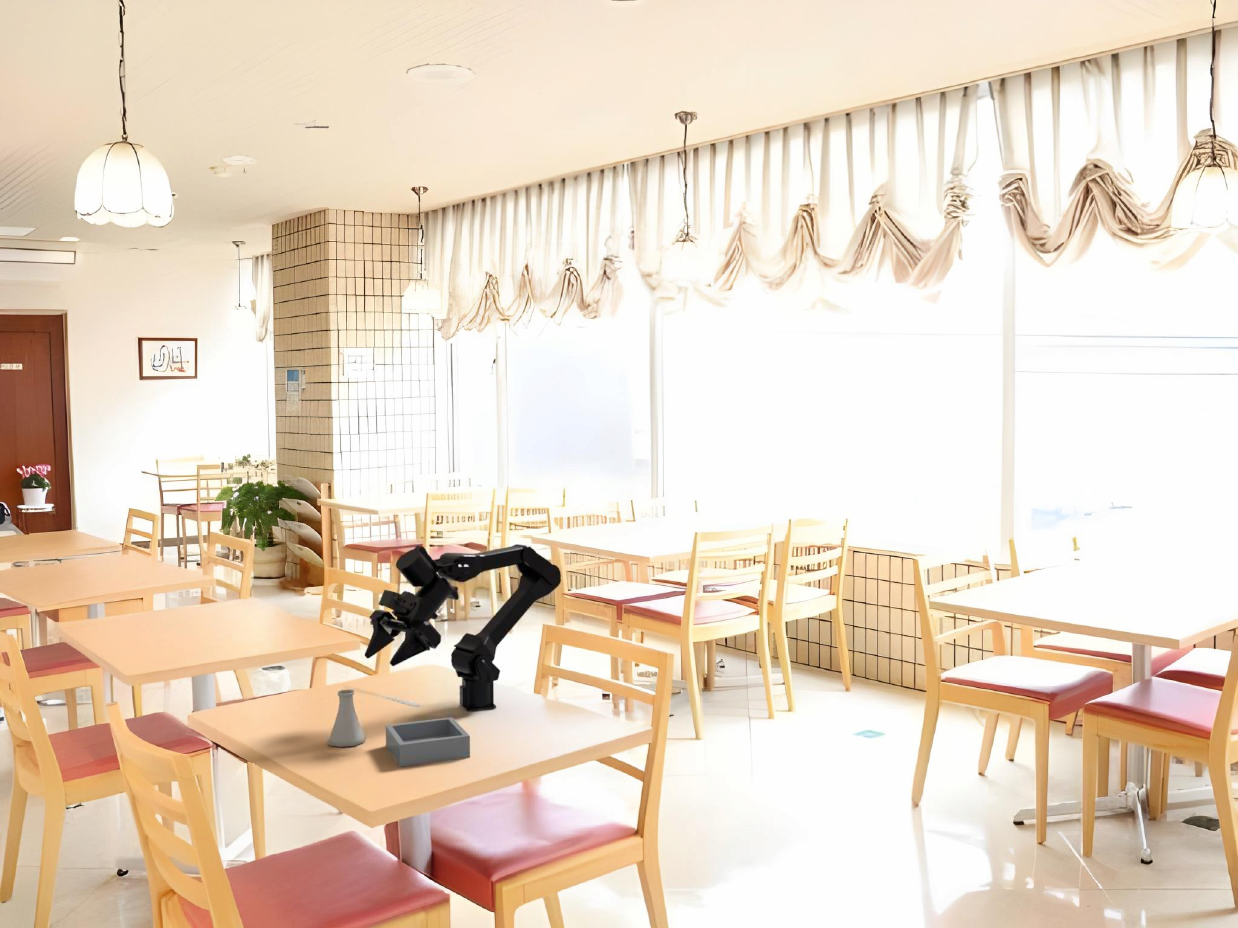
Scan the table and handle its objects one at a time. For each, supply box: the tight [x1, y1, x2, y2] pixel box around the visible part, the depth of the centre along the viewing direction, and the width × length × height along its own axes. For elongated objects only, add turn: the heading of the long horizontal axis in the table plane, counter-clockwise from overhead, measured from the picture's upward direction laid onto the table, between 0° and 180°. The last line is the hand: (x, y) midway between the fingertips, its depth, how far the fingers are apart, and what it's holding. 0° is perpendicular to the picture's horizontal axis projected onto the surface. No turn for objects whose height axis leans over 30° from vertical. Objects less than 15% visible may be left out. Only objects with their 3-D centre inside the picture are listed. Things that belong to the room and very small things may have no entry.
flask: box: [327, 689, 366, 748], centre depth 204 cm, size 7×7×10 cm
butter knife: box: [380, 694, 421, 707], centre depth 237 cm, size 1×27×3 cm
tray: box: [385, 716, 471, 768], centre depth 198 cm, size 13×13×4 cm
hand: (378, 660), depth 210 cm, fingers open, 9 cm apart
